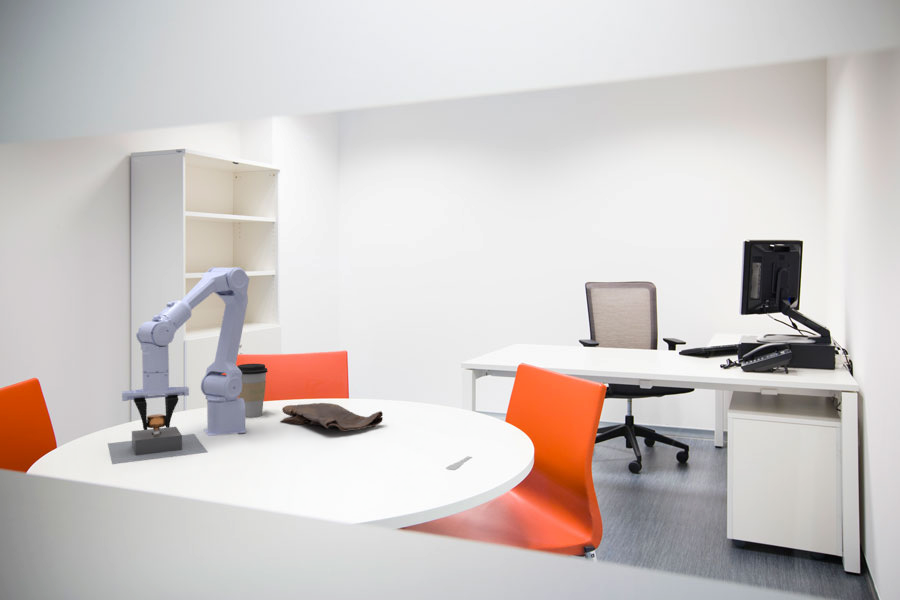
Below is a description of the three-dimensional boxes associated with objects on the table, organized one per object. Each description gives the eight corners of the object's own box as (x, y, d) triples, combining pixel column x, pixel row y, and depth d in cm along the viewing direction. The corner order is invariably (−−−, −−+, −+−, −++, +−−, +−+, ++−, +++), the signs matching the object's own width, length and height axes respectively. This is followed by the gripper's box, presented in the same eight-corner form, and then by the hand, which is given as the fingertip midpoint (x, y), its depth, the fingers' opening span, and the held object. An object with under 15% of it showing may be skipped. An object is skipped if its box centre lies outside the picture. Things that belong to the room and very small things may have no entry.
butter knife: (442, 468, 143) (454, 470, 142) (484, 443, 165) (495, 444, 164) (442, 470, 143) (454, 472, 142) (484, 444, 165) (495, 446, 164)
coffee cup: (258, 419, 190) (258, 368, 190) (228, 417, 192) (228, 367, 192) (273, 412, 200) (273, 363, 199) (245, 411, 202) (244, 362, 201)
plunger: (164, 442, 160) (164, 413, 160) (166, 446, 157) (166, 416, 156) (146, 444, 158) (146, 415, 158) (148, 448, 155) (148, 418, 154)
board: (194, 435, 171) (194, 433, 171) (207, 454, 154) (207, 452, 154) (107, 445, 161) (107, 443, 161) (112, 466, 144) (112, 464, 144)
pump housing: (176, 440, 164) (176, 426, 164) (182, 449, 155) (181, 435, 155) (131, 445, 159) (131, 431, 159) (135, 455, 150) (135, 440, 150)
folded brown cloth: (270, 420, 191) (270, 403, 191) (330, 411, 204) (330, 395, 204) (326, 441, 167) (326, 422, 167) (390, 429, 181) (390, 411, 180)
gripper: (185, 367, 164) (185, 421, 164) (120, 371, 156) (121, 427, 157) (190, 370, 158) (190, 426, 158) (122, 375, 150) (123, 434, 151)
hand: (156, 427), depth 157 cm, fingers open, 4 cm apart
